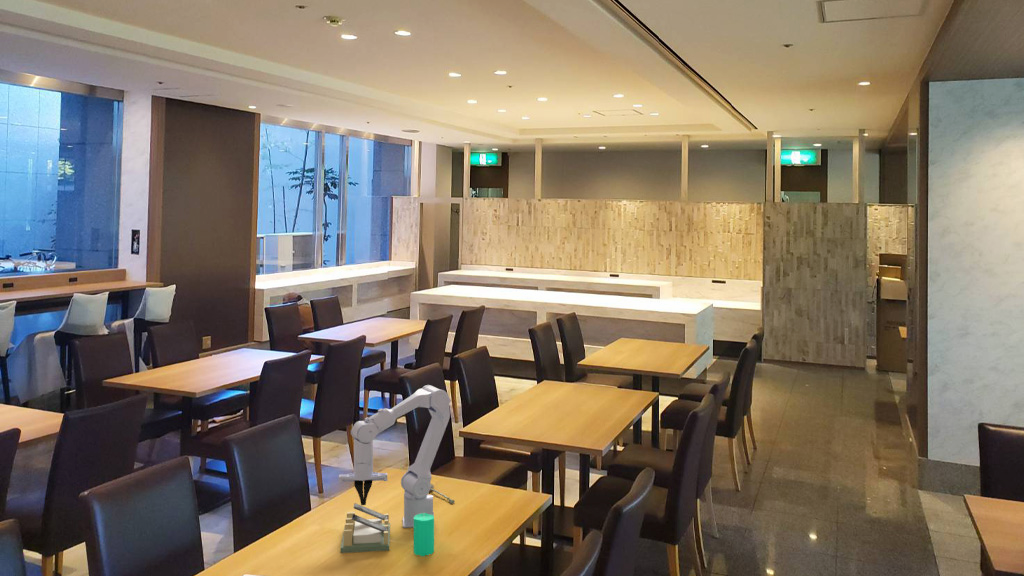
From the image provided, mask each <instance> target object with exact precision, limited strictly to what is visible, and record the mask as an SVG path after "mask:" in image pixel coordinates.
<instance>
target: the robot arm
mask: <svg viewBox="0 0 1024 576" xmlns="http://www.w3.org/2000/svg"><path fill="white" fill-rule="evenodd" d="M448 394H449V393H448V392H447V391H446V390H444V389H440V388H437V387H435V386H433V385H430V384H427V385H424V386H422V388H418V389H417V390H416V391H415V392H414V393H413V394H411V395H409V396H408V397H407V398H405V399H404V400H402V401H401V402H399V403H397V405H394V406H393V407H391V408H379V409H377V412H376V413H374V414H373V415H370V416H369V417H368V416H367V417H365V418H364V420H358V421H356V422H355V423H354V424H353V426H352V428H351V430H350V435H351V436H352V438H353V472H351V473H345V474H339V475H338V483H339V484H342V483H349V482H351V483H352V482H353V483H354V484H353V485H354V486H353V487H354V488H355V490H356V492H357V494H358V497H359V501H360V505H361V506H366V505H367V499H368V496H369V492H370V489H371V487H372V486H373V482H378V481H381V482H382V481H383V482H388V472H374V453H373V451H374V446H373V445H374V444H373V441H374V440H375V438H376V436H377V435H378V434H380V433H382V432H383V431H385V430H386V429H388V428H390V427H391V426H393V425H395V422H396V420H397V419H398V418H400V417H401V416H403V415H406V414H408V413H409V412H411V411H413V410H414V409H417V408H427V409H428V412H429V413H430V416H431V419H430V422H429V424H428V427H427V429H426V432H425V435H424V437H423V440H422V442H421V444H420V445H421V446H420V448H419V451H418V452H417V455H416V458H415V460H414V463H412V464H411V465H410V466H408V468H407V471H405V473H404V474H403V475H402V477H401V479H400V485H401V488H402V489H403V490H404V493H403V517H402V528H404V529H405V528H414V517H415V516H416V515H418V514H422V513H427V514H430V515H434V516H435V513H434V495H433V494H429V493H430V491H431V490H430V483H431V480H432V477H433V476H432V472H431V467H432V465H433V463H434V460H435V458H436V455H437V452H438V450H439V447H440V445H441V441H442V439H443V436H444V434H445V432H446V428H447V426H448V423H449V421H450V419H451V411H450V404H451V401H452V400H451V398H450V396H449V395H448Z"/></svg>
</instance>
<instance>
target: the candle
mask: <svg viewBox="0 0 1024 576" xmlns="http://www.w3.org/2000/svg"><path fill="white" fill-rule="evenodd" d="M433 552H434V553H435V514H434V515H430V514H427V513H422V514H418V515H416V516H415V517H414V527H413V554H414V555H416V556H418V555H420V556H419V557H426V556H425V555H428V556H430V555H429V554H431V555H432V553H433ZM434 553H433V554H434Z"/></svg>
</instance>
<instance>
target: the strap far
mask: <svg viewBox="0 0 1024 576" xmlns="http://www.w3.org/2000/svg"><path fill="white" fill-rule="evenodd" d="M353 509H354V510H357V511H359V512H362V513H364V514H367V515H370V516H372V517H373V518H375V519H381V520H382V521H384V520H385V519H388V516H386V515H385V514H383V513H380V512H378V511H376V510H373V509H371V508H369V507H366V506H365V505H361V504H358V503H354V504H353Z"/></svg>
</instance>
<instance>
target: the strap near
mask: <svg viewBox="0 0 1024 576" xmlns="http://www.w3.org/2000/svg"><path fill="white" fill-rule="evenodd" d="M367 519H368V518H367ZM367 519H366V518H364V517H362V516H360V515H357V514H356V513H355V514H353V515H352V520H354V521H356V522H359V523H361V524H364V525H366V526H369V527H371V528H374V529H376V530H379V531H381V532H384V531H388V527H385V526H382V525H380V524H377V523H375V522H372V521H370V520H367Z"/></svg>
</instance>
